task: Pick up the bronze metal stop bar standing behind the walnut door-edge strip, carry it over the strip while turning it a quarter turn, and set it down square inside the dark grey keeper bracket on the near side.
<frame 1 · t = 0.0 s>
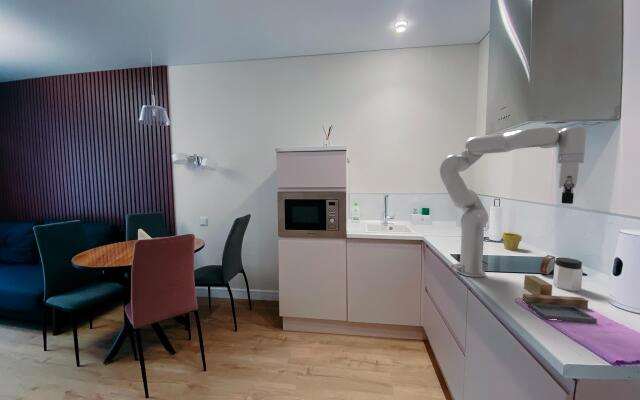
hand: (566, 202, 105), 37 cm above the countertop, tool pointing down, fingers open, 9 cm apart
plant pot: (510, 249, 174), on the countertop
door edge strip: (554, 304, 98), on the countertop
jar: (566, 287, 113), on the countertop
keeper: (560, 314, 91), on the countertop
tin: (547, 273, 131), on the countertop
stop bar: (536, 294, 107), on the countertop
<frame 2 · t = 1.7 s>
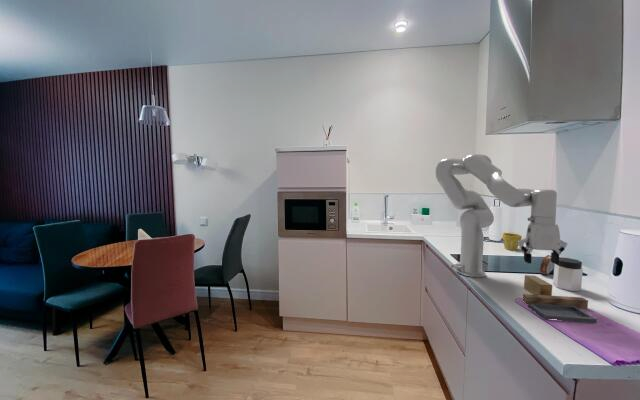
hand: (541, 262, 105), 13 cm above the countertop, tool pointing down, fingers open, 9 cm apart
nothing on the countertop moved.
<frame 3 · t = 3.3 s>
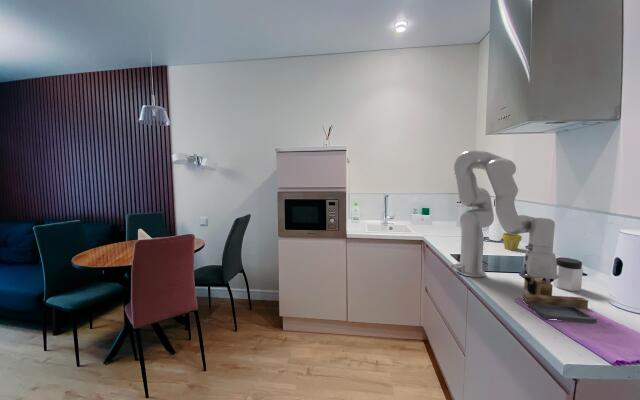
hand: (537, 292, 107), 1 cm above the countertop, tool pointing down, fingers closed on stop bar, 4 cm apart
stop bar: (537, 293, 107), on the countertop, touching gripper
everything else where it was.
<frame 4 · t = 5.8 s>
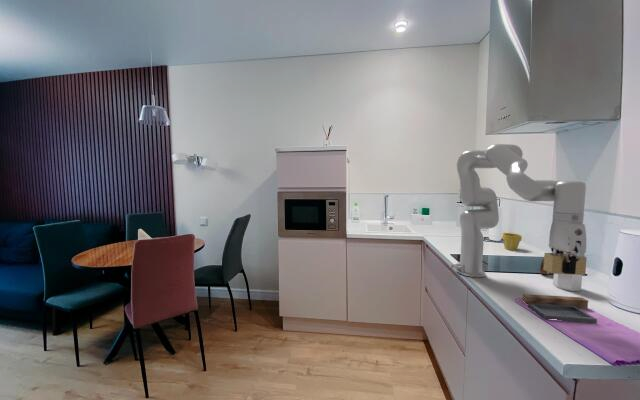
hand: (563, 270, 90), 16 cm above the countertop, tool pointing down, fingers closed on stop bar, 4 cm apart
stop bar: (563, 272, 90), point 15 cm above the countertop, touching gripper
everything else where it was.
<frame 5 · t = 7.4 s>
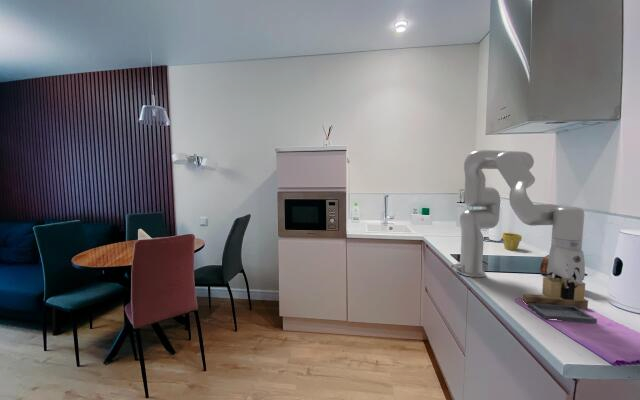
hand: (562, 295, 90), 7 cm above the countertop, tool pointing down, fingers closed on stop bar, 4 cm apart
stop bar: (562, 297, 90), point 6 cm above the countertop, touching gripper
everything else where it was.
when the fingers open (2 cm above the countertop, at t = 8.6 s): stop bar drops 1 cm, resting on keeper.
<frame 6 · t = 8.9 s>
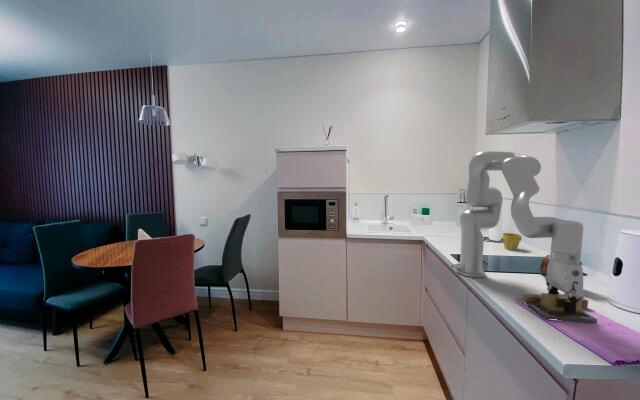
hand: (560, 307, 90), 3 cm above the countertop, tool pointing down, fingers open, 6 cm apart
stop bar: (559, 313, 91), resting on keeper
everything else where it was.
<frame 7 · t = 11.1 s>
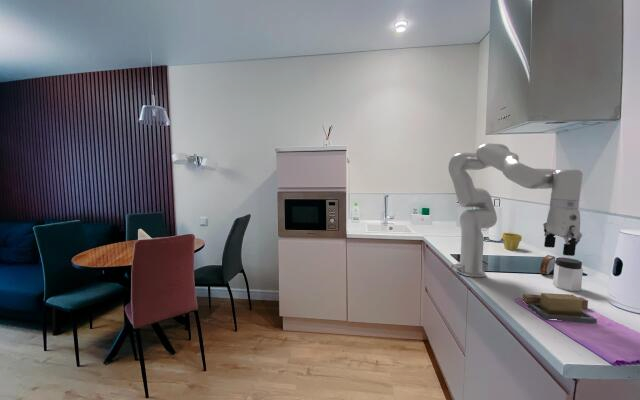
hand: (558, 251, 95), 21 cm above the countertop, tool pointing down, fingers open, 9 cm apart
nothing on the countertop moved.
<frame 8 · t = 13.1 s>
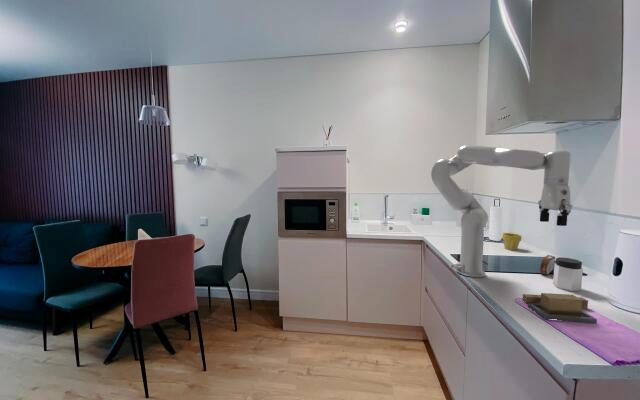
hand: (552, 223, 108), 28 cm above the countertop, tool pointing down, fingers open, 9 cm apart
nothing on the countertop moved.
at the end: stop bar inside the target area on the keeper (0.2 cm from its centre), point 0.5 cm above the keeper's base; stop bar tilted 0°; the gripper is holding nothing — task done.
